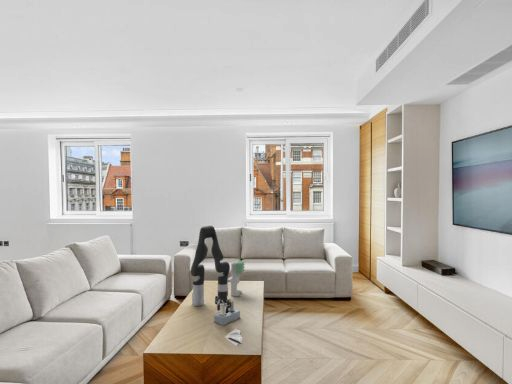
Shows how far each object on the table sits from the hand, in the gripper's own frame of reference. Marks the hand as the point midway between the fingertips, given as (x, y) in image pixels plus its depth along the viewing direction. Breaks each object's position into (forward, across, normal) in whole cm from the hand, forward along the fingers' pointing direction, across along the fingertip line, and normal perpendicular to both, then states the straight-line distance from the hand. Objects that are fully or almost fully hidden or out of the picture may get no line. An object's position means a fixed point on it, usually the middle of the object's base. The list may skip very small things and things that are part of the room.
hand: (222, 311), depth 234 cm
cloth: (+8, +24, -12) cm, 28 cm away
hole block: (+7, 0, +4) cm, 8 cm away
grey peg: (+7, 0, +9) cm, 11 cm away
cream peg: (+7, 0, 0) cm, 7 cm away
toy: (+7, -34, +52) cm, 63 cm away
